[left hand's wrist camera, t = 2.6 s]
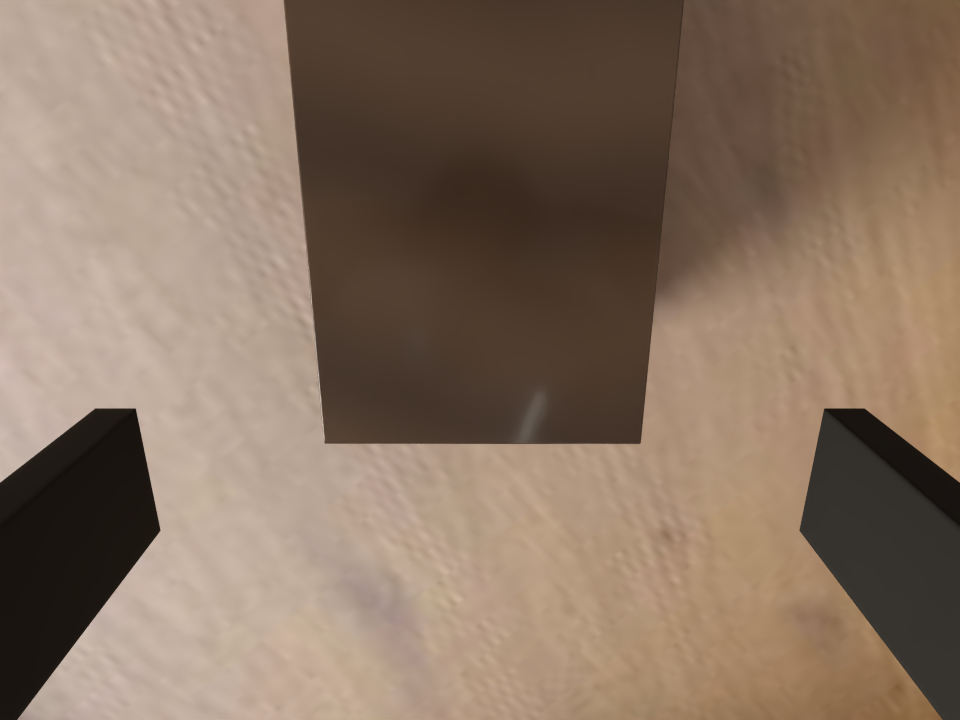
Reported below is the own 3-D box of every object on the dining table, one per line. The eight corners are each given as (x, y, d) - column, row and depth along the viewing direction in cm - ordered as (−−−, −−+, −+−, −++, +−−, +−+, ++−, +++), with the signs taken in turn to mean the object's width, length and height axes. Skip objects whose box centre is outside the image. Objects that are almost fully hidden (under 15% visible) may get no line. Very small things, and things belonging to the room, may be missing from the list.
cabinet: (346, -83, 24) (264, -201, 15) (619, -82, 24) (704, -200, 15) (371, 342, 30) (324, 444, 21) (591, 342, 30) (641, 444, 21)
